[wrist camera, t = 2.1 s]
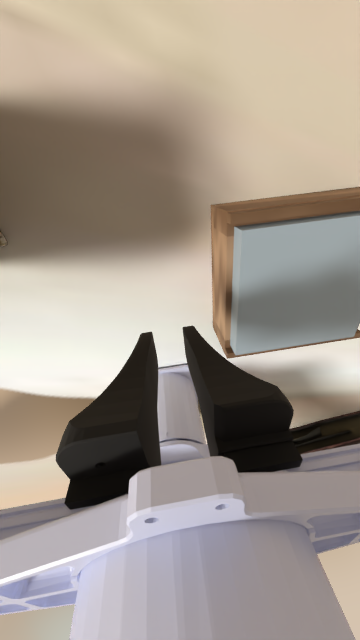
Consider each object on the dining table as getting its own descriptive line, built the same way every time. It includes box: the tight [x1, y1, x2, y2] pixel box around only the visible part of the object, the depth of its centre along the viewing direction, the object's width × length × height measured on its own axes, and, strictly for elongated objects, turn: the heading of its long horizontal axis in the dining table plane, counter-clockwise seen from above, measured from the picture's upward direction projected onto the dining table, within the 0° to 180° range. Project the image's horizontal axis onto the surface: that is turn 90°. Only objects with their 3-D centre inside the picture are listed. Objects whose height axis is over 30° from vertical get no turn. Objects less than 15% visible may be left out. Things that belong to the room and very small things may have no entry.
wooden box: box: [211, 187, 360, 359], centre depth 20 cm, size 12×13×5 cm
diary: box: [289, 412, 360, 455], centre depth 42 cm, size 19×25×5 cm
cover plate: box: [230, 211, 360, 355], centre depth 17 cm, size 10×11×2 cm
